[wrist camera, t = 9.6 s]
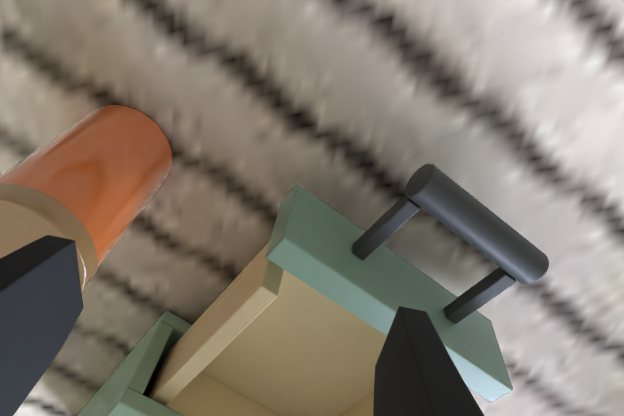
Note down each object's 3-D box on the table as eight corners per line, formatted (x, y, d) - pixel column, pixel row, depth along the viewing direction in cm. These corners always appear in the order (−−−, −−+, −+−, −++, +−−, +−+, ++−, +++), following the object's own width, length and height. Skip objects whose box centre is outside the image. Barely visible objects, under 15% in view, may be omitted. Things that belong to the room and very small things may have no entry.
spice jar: (192, 144, 19) (108, 254, 13) (148, 209, 21) (55, 332, 15) (101, 80, 18) (-42, 166, 12) (63, 155, 20) (-76, 263, 14)
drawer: (371, 98, 16) (373, 140, 13) (575, 263, 19) (617, 331, 16) (159, 339, 24) (128, 403, 21) (326, 431, 27) (321, 499, 24)
